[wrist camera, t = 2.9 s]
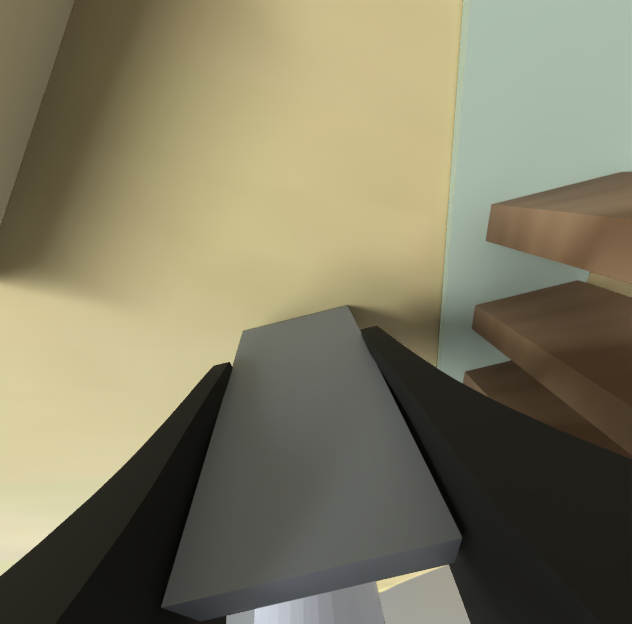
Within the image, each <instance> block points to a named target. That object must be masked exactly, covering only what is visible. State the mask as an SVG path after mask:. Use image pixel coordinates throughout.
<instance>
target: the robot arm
mask: <svg viewBox="0 0 632 624" xmlns="http://www.w3.org/2000/svg"><path fill="white" fill-rule="evenodd" d="M361 335H362V338H363V340H364V342H365V344H366V346H367V348H368V350H369V352H370V354H371V356H372V357H373V359H374V361H375V362H376V364H377V366H378V368H379V370H380V372H381V374H382V376H383V378H384V380H385V382H386V384H387V386H388V388H389V390H390V392H391V394H392V396H393V398H394V400H395V402H396V404H397V406H398V408H399V410H400V412H401V414H402V416H403V418H404V420H405V422H406V424H407V426H408V428H409V431H410V433H411V435H412V437H413V439H414V441H415V443H416V445H417V447H418V449H419V451H420V453H421V455H422V457H423V459H424V461H425V463H426V465H427V467H428V469H429V471H430V473H431V475H432V477H433V479H434V481H435V483H436V485H437V487H438V489H439V491H440V493H441V495H442V497H443V499H444V501H445V503H446V505H447V507H448V509H449V511H450V513H451V515H452V518H453V520H454V522H455V524H456V526H457V528H458V530H459V532H460V534H461V536H462V541H461V544H460V547H459V550H458V553H457V557H456V560H455V563H452V564H449V566H450V569H451V572H452V574H453V577H454V580H455V582H456V585H457V587H458V590H459V593H460V596H461V598H462V601H463V603H464V607H465V609H466V612H467V615H468V618H469V620H470V623H471V624H632V459H630V458H627V457H625V456H622V455H620V454H617V453H615V452H612V451H610V450H607V449H605V448H602V447H600V446H597V445H595V444H592V443H590V442H587V441H585V440H582V439H580V438H577V437H575V436H573V435H570V434H568V433H566V432H563V431H561V430H559V429H556V428H554V427H552V426H549V425H547V424H545V423H543V422H541V421H538V420H536V419H534V418H532V417H529V416H527V415H525V414H523V413H521V412H518V411H516V410H514V409H512V408H510V407H508V406H506V405H503V404H501V403H499V402H497V401H495V400H493V399H491V398H489V397H487V396H485V395H484V394H482V393H480V392H478V391H476V390H474V389H472V388H470V387H468V386H466V385H465V384H463V383H461V382H459V381H458V380H456V379H454V378H452V377H451V376H449V375H447V374H446V373H444V372H442V371H441V370H439V369H438V368H436V367H434V366H433V365H431V364H430V363H428V362H427V361H425V360H424V359H422V358H421V357H419V356H418V355H416V354H415V353H413V352H412V351H410V350H409V349H407V348H406V347H405V346H403V345H402V344H401V343H399V342H398V341H396V340H395V339H394V338H392V337H391V336H390V335H388V334H387V333H386V332H385V331H383V330H382V329H381V328H379V327H378V326H374V327H370V328H366V329H362V330H361ZM232 369H233V367H232V366H231V364H230V362H227V363H223V364H219V365H215V366H213V367H212V368H211V369H210V370H209V372H208V373H207V374H206V375H205V376H204V377H203V378H202V379H201V381H200V382H199V383H198V384H197V385H196V386H195V388H194V389H193V390H192V391H191V392H190V394H189V395H188V396H187V397H186V398H185V399H184V400H183V402H182V403H181V404H180V405H179V406H178V407H177V409H176V410H175V411H174V412H173V413H172V414H171V416H170V417H169V418H168V419H167V420H166V421H165V422H164V423H163V424H162V425H161V427H160V428H159V429H158V430H157V431H156V432H155V433H154V434H153V435H152V436H151V437H150V439H149V440H148V441H147V442H146V443H145V444H144V445H143V446H142V447H141V448H140V449H139V450H138V451H137V452H136V454H135V455H134V456H133V457H132V458H131V459H130V460H129V461H128V462H127V463H126V464H125V465H124V466H123V467H122V468H121V469H120V470H119V471H118V472H117V473H116V474H115V475H114V476H112V477H111V478H110V479H109V480H108V481H107V482H106V483H105V484H104V485H103V486H102V487H101V488H100V489H99V490H98V491H97V492H96V493H95V494H94V495H93V496H92V497H91V498H89V499H88V500H87V501H86V502H85V503H84V504H83V505H82V506H80V507H79V508H78V509H77V510H76V511H75V512H74V513H73V514H72V515H70V516H69V517H68V518H67V519H66V520H65V521H64V522H63V523H61V524H60V525H59V526H58V527H57V528H56V529H55V530H54V531H53V532H51V533H50V534H49V535H48V536H47V537H46V538H45V539H44V540H42V541H41V542H40V543H39V544H38V545H37V546H36V547H34V548H33V549H32V550H31V551H30V552H29V553H27V554H26V555H25V556H24V557H23V558H21V559H20V560H19V561H18V562H17V563H16V564H14V565H13V566H12V567H11V568H10V569H8V570H7V571H6V572H5V573H4V574H2V575H1V576H0V624H226V616H223V617H218V618H214V619H210V620H205V621H198V620H195V619H192V618H189V617H186V616H184V615H181V614H178V613H175V612H172V611H169V610H166V609H163V608H161V605H162V602H163V599H164V595H165V592H166V589H167V585H168V582H169V578H170V575H171V572H172V568H173V565H174V562H175V558H176V555H177V552H178V548H179V545H180V541H181V538H182V535H183V531H184V528H185V525H186V521H187V518H188V514H189V511H190V508H191V504H192V501H193V498H194V494H195V491H196V488H197V484H198V481H199V477H200V474H201V471H202V467H203V464H204V461H205V457H206V454H207V450H208V447H209V444H210V440H211V437H212V434H213V430H214V427H215V424H216V420H217V417H218V413H219V410H220V407H221V403H222V400H223V397H224V394H225V392H226V389H227V386H228V382H229V379H230V376H231V372H232ZM254 624H385V620H384V615H383V611H382V606H381V602H380V598H379V593H378V588H377V584H376V581H374V582H370V583H366V584H361V585H357V586H353V587H348V588H344V589H340V590H335V591H331V592H327V593H322V594H318V595H314V596H309V597H305V598H301V599H296V600H292V601H288V602H283V603H279V604H275V605H270V606H266V607H262V608H257V609H255V617H254Z"/></svg>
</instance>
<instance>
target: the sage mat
mask: <svg viewBox="0 0 632 624" xmlns="http://www.w3.org/2000/svg"><path fill="white" fill-rule="evenodd" d="M618 172H632V0H463V13H462V26H461V40H460V54H459V68H458V82H457V96H456V109H455V123H454V137H453V151H452V165H451V179H450V192H449V206H448V220H447V234H446V248H445V262H444V276H443V289H442V303H441V317H440V331H439V345H438V359H437V368H438V369H439V370H441V371H442V372H444V373H446V374H447V375H449V376H451V377H452V378H454V379H456V380H458V381H459V382H461V383H463V379H464V373H465V371H469V370H473V369H477V368H482V367H486V366H490V365H494V364H498V363H502V362H506V361H511V359H509V358H508V357H507V356H506V355H504V354H503V353H502V352H500V351H499V350H498V349H497V348H495V347H494V346H493V345H492V344H490V343H489V342H488V341H487V340H485V339H484V338H483V337H482V336H480V335H479V334H478V333H476V332H475V331H474V330H473V329H472V322H473V316H474V310H475V305H478V304H482V303H486V302H490V301H494V300H498V299H502V298H507V297H511V296H515V295H519V294H523V293H527V292H531V291H535V290H539V289H543V288H547V287H551V286H556V285H560V284H564V283H568V282H572V281H576V280H579V281H582V282H585V283H586V282H587V279H588V277H589V275H590V271H586V270H583V269H580V268H576V267H573V266H569V265H566V264H563V263H559V262H556V261H552V260H549V259H546V258H542V257H539V256H535V255H532V254H528V253H525V252H522V251H518V250H515V249H511V248H508V247H505V246H501V245H498V244H494V243H491V242H488V241H486V235H487V228H488V222H489V216H490V210H491V204H495V203H499V202H503V201H507V200H511V199H515V198H519V197H523V196H527V195H531V194H535V193H539V192H543V191H547V190H551V189H555V188H559V187H563V186H567V185H571V184H575V183H579V182H583V181H587V180H591V179H595V178H599V177H603V176H607V175H611V174H615V173H618Z"/></svg>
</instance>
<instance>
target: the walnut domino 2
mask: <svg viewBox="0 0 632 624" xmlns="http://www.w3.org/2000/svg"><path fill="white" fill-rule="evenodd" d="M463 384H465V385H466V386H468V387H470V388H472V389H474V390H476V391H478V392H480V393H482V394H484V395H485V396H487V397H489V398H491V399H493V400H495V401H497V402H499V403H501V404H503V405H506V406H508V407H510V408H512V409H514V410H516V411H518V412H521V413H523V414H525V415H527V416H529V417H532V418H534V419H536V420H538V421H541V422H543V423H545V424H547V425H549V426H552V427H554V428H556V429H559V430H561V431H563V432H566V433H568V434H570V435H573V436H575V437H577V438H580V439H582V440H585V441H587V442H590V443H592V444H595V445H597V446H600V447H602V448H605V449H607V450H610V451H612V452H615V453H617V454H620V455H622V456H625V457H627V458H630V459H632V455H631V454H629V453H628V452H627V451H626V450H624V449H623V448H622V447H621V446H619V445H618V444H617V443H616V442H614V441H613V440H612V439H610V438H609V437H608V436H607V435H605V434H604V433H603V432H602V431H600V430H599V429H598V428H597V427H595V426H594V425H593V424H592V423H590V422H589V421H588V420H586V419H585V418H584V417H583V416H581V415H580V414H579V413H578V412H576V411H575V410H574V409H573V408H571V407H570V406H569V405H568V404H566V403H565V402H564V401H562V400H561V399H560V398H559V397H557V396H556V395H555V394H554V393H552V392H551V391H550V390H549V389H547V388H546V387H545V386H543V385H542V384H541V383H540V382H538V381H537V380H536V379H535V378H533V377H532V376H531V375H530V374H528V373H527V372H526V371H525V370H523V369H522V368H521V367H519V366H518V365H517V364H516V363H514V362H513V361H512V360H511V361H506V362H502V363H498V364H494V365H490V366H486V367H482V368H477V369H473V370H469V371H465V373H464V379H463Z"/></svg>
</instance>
